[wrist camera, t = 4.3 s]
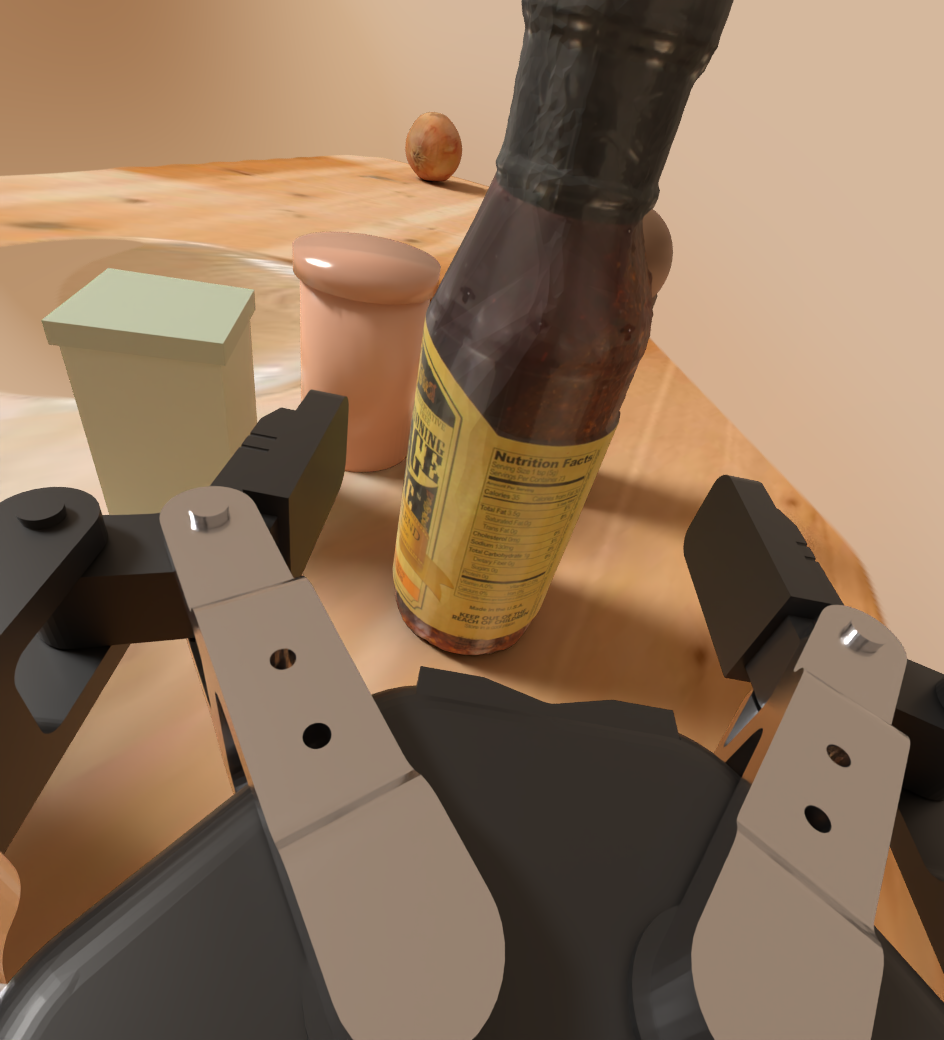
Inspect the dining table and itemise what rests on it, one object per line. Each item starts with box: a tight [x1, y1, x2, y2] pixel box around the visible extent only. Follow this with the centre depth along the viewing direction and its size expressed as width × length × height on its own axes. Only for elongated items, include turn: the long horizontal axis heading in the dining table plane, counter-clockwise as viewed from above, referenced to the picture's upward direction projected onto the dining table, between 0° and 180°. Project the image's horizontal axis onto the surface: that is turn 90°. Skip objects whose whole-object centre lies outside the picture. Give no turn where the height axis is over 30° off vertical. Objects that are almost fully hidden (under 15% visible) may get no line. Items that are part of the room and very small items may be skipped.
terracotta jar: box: [293, 232, 441, 472], centre depth 28 cm, size 7×7×10 cm
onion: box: [405, 112, 462, 181], centre depth 95 cm, size 10×10×10 cm
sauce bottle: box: [393, 0, 733, 655], centre depth 17 cm, size 6×6×20 cm
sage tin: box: [42, 268, 257, 515], centre depth 23 cm, size 5×5×9 cm
